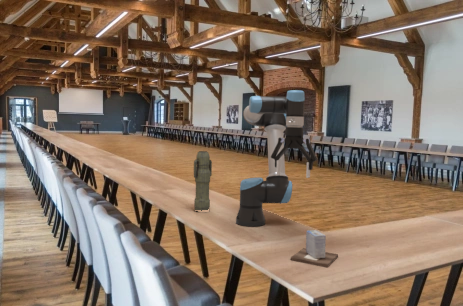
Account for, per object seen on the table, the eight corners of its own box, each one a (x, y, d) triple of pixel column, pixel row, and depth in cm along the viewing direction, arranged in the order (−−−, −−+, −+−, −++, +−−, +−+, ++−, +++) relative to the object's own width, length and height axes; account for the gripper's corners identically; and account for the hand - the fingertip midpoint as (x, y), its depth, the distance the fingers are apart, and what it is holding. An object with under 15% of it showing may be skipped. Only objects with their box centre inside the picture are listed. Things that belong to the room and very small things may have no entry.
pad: (303, 250, 160) (303, 247, 160) (337, 256, 153) (338, 253, 153) (290, 260, 148) (290, 256, 148) (327, 267, 141) (327, 263, 141)
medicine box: (325, 258, 147) (326, 235, 146) (314, 258, 146) (315, 235, 145) (316, 251, 155) (316, 229, 154) (305, 252, 154) (306, 230, 153)
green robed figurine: (214, 210, 233) (215, 151, 231) (199, 213, 224) (200, 152, 222) (204, 208, 239) (205, 150, 237) (189, 211, 230) (190, 151, 228)
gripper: (264, 126, 172) (263, 174, 174) (320, 127, 160) (318, 179, 161) (271, 126, 179) (270, 173, 180) (325, 127, 166) (323, 177, 168)
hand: (292, 176), depth 171 cm, fingers open, 13 cm apart
